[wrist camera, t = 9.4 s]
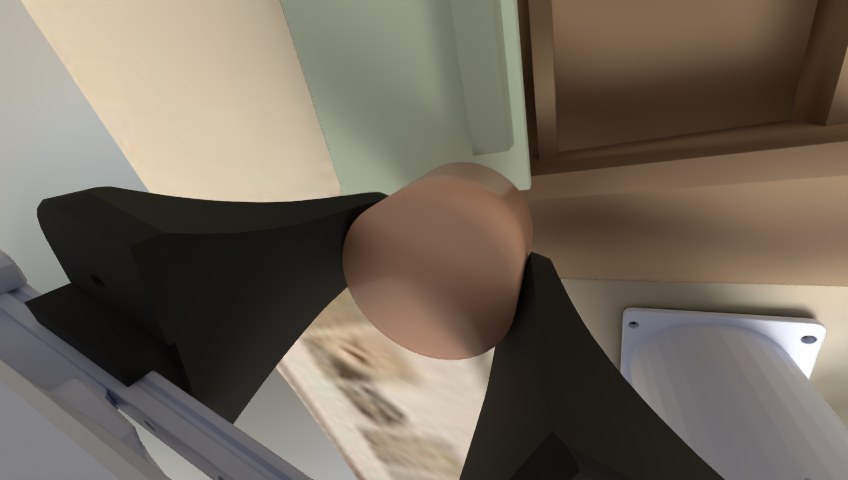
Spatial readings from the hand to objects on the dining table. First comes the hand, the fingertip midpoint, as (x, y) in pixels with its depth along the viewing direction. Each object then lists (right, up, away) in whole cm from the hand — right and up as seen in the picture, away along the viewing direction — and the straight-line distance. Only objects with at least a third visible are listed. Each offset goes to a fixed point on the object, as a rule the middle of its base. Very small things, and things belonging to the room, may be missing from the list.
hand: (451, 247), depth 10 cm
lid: (-2, +8, +2) cm, 8 cm away
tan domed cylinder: (0, +1, +1) cm, 1 cm away
